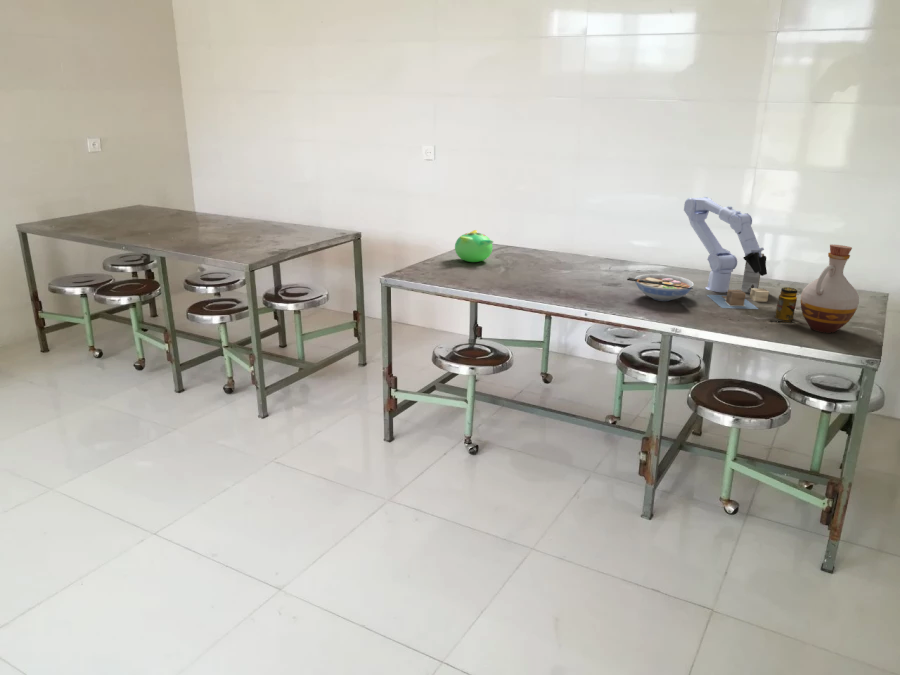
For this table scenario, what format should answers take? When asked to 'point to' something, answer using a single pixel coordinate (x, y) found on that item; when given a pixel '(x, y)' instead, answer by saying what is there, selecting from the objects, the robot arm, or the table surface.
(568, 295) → the table surface
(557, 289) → the table surface
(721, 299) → the board
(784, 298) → the condiment
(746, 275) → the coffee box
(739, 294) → the walnut cube
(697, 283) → the table surface
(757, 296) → the maple cube
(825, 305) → the jug
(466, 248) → the green teapot
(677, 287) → the ramen bowl
